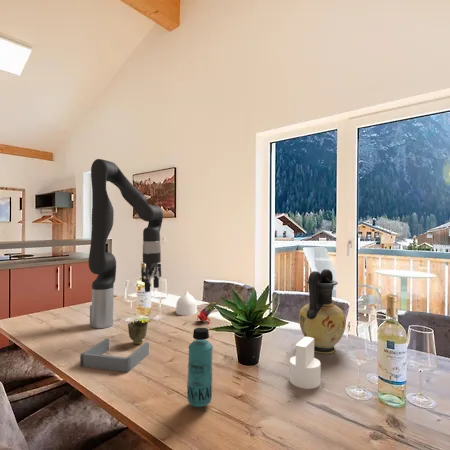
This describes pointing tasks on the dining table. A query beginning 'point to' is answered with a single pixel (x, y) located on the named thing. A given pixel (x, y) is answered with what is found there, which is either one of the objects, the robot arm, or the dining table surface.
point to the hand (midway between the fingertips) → (152, 289)
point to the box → (111, 358)
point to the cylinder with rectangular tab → (305, 365)
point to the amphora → (322, 313)
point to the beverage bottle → (200, 369)
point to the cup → (137, 331)
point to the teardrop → (186, 305)
